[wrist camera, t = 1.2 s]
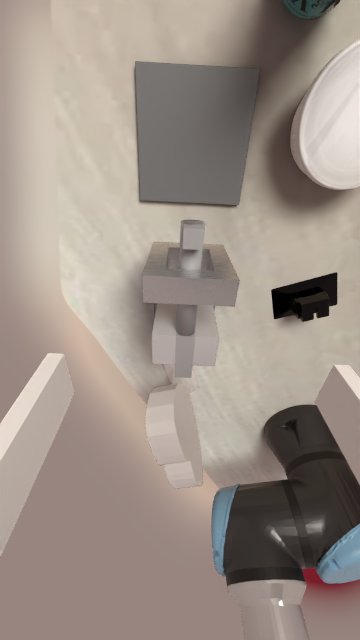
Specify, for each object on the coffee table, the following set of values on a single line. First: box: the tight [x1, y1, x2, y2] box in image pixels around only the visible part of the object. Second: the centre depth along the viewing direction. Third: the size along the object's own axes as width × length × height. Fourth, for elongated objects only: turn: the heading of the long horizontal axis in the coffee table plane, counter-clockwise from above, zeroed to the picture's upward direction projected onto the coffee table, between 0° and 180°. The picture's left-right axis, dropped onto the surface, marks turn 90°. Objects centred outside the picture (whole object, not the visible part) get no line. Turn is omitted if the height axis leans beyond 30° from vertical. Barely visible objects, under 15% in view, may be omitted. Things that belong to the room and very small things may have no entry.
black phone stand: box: [271, 272, 337, 322], centre depth 36 cm, size 12×7×5 cm, turn 107°
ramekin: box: [290, 39, 360, 190], centre depth 25 cm, size 11×11×5 cm
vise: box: [152, 220, 219, 378], centre depth 31 cm, size 21×8×14 cm, turn 177°
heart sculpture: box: [145, 364, 203, 489], centre depth 38 cm, size 16×5×18 cm, turn 16°
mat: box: [135, 61, 260, 205], centre depth 27 cm, size 12×12×1 cm
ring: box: [142, 242, 240, 307], centre depth 25 cm, size 2×8×10 cm, turn 87°
